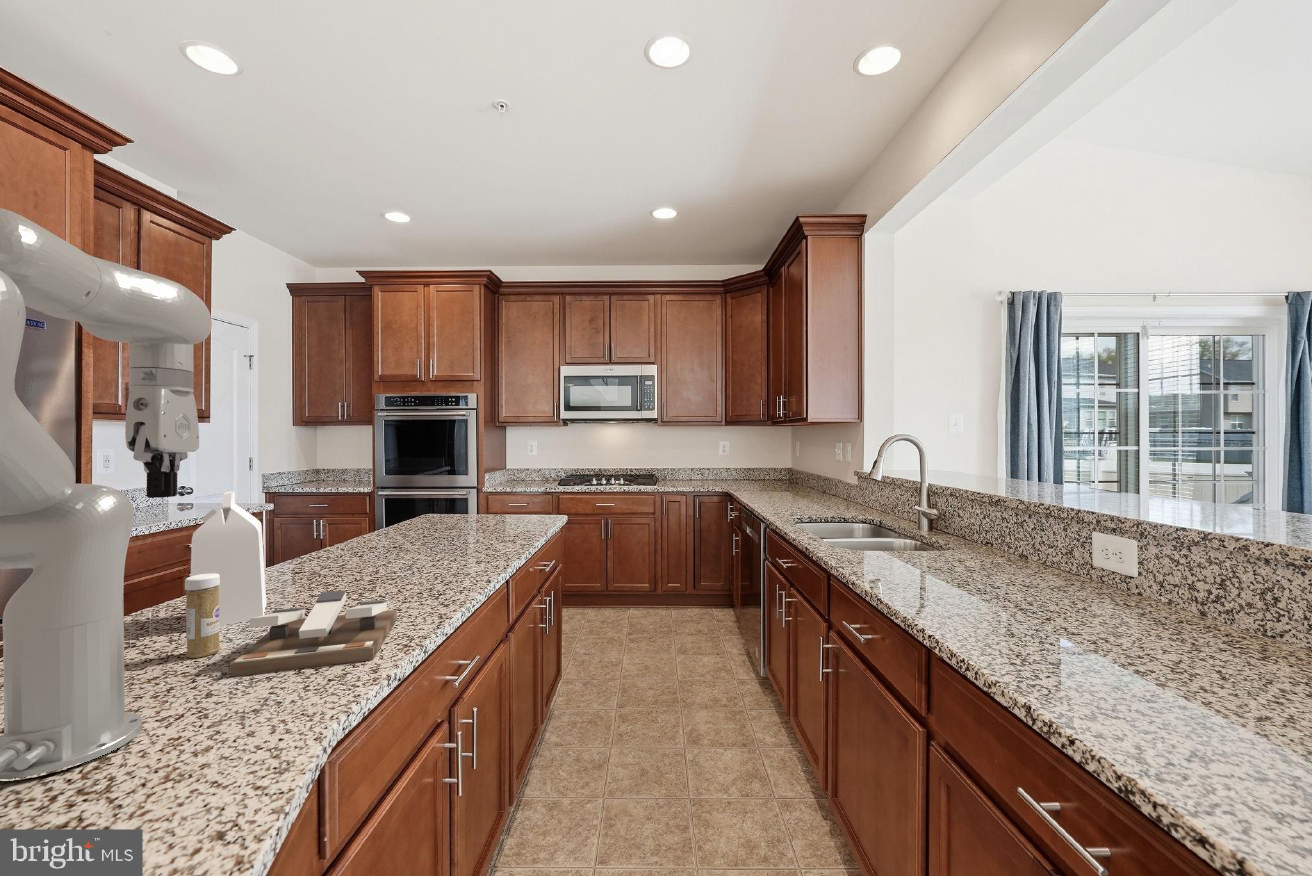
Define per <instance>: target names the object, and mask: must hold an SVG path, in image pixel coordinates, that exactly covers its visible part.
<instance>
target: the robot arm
mask: <svg viewBox="0 0 1312 876" xmlns="http://www.w3.org/2000/svg"><path fill="white" fill-rule="evenodd" d="M26 307H27V308H30V309H32V310H35V311H37V312H40V313H43V314H45V315H48V316H50V317H54V318H58V319H63V320H67V321H73V322H78V323H79V325H80V326H81V327H82V328H83V329H84V330H85V331H86V332H88V333H89V334H91V335H92V336H94V337H96V338H98V339H100V340H104V341H108V342H115V343H116V342H118V343H126V344H128V364H129V365H128V390H129V394H128V400H127V406H126V413H125V414H126V415H125V433H124V434H125V435H124V436H125V437H124V438H125V445H126V448H127V450H128V451H130V452H132V453H133V457H132V458H133V460H135V461H138V462H140V463H142V465H143V470H144V472H145V473H146V497H147V498H148V499H153V498H155V499H156V498H159V499H160V498H171V497H172V498H173V497H177V496H178V472H179V471H180V469H181V468H180V467H181V462H182V461H185V460H186V459H188V456H189V454H188V453H193V452H194V453H195V452H196V451H198V450H199V448H200V431H199V417H198V408H197V404H196V397H195V396H194V391H195V390H194V388H195V387H194V386H195V385H194V345H196V344H197V345H198V344H200V343H203V342H204V341H205V340H206V339H208V337H209V336H210V334H211V332H212V327H213V325H212V324H213V323H212V321H213V320H212V315H211V313H210V310H209V308H208V307H207V305H206V304H205V302H204V301H203V300H202V298H200V297H199V296H198V295H197V294H196V293H194V292H193V291H192V290H191V289H189V288H187V287H185V286H184V285H183V284H181V283H179V282H176V281H173V280H171V279H169V278H165V277H162V276H159V275H156V274H152V273H150V272H146V271H142V270H139V269H135V268H133V267H129V266H126V265H123V264H121V263H116V262H112V261H110V260H106V259H102V258H99V257H96V256H92V255H90V254H88V253H86V252H85V251H83V250H81V249H80V248H78V247H77V246H75V245H73V244H71V242H70V243H69V242H68V241H66V240H64V239H62V238H61V237H60V236H57V235H56V234H54V233H53V232H50V231H49V230H47V229H46V228H44V227H43V226H40V225H39V224H37V223H35V222H34V221H32V220H30V219H29V218H26V217H25V216H23V215H21V214H18V213H16V212H14V211H11V210H8V209H5V208H3V207H2V208H1V207H0V570H9V569H11V570H12V569H33V570H32V573H31V574H30V576H28V578H27V579H26V581H25V582H23V583H22V584H21V586H19V588H17V590H16V591H15V592H14V593H13V594H12V596H11V597H10V598H9V600H8V602H7V603H6V605H5V607H4V610H3V613H2V643H3V644H2V647H3V648H2V650H3V652H2V657H3V659H2V663H3V664H2V665H3V727H4V728H3V731H4V732H3V733H4V734H3V735H1V736H0V779H13V778H14V779H16V778H24V777H26V776H33V775H35V774H41V773H44V772H50V771H54V770H56V769H61V768H64V767H68V766H70V765H75V764H77V763H82V762H87V761H88V760H92V759H94V758H97V757H99V756H101V757H103V756H102V755H104V756H105V754H106V755H108V754H110V753H112V752H114V751H116V750H117V748H118V749H119V748H121V747H123V746H124V745H126V744H127V743H129V742H131V741H132V740H133V739H134V738H135V737H137V735H138V734H140V732H141V731H142V729H143V718H142V716H141V715H140V714H137V713H135V712H130V711H126V710H125V709H126V708H125V707H126V703H125V701H126V699H125V698H126V697H125V696H126V695H125V692H126V691H125V688H126V687H125V619H124V617H125V614H124V611H125V609H124V587H125V586H124V585H125V584H124V583H125V582H124V581H125V566H126V565H125V564H126V560H127V559H126V558H127V554H128V553H127V552H128V548H129V544H130V539H131V536H132V535H131V534H132V531H133V527H134V526H133V525H134V519H135V513H134V507H133V506H134V505H133V503H132V502H131V500H130V498H129V497H128V496H127V495H126V494H125V493H123V492H121V491H120V490H118V489H115V488H113V487H111V486H107V485H101V484H95V483H94V484H92V483H76V472H75V471H76V470H75V468H74V465H73V462H72V461H71V460H70V458H69V456H68V455H67V454H66V452H65V451H64V450H63V449H62V448H61V447H60V445H59V444H58V443H57V442H56V441H55V440H54V438H53V437H52V436H51V435H50V433H48V432H47V431H46V430H45V428H44V427H43V426H42V425H41V424H40V422H38V420H37V419H36V418H35V417H34V416H33V414H32V413H31V412H30V411H29V410H28V409H27V407H25V405H24V404H23V402H22V401H21V399H20V398H19V397H18V395H17V393H16V390H15V385H16V384H15V380H16V373H17V367H18V363H19V362H18V361H19V358H20V354H21V347H22V342H23V338H24V333H25V327H26V322H27V309H26ZM113 750H114V751H113ZM111 751H112V752H111ZM107 753H108V754H107ZM99 758H100V757H99ZM97 759H98V758H97ZM92 761H93V760H92ZM87 763H88V762H87Z"/></svg>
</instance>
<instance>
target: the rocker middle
mask: <svg viewBox="0 0 1312 876" xmlns="http://www.w3.org/2000/svg"><path fill="white" fill-rule="evenodd" d="M346 601H347V591H346V590H334V591H322V592H321V593H320V594H319V595H318V597H317V599H316V601H315V604H314V606H313V608H312V609H311V611H310V612H309V614H308V616H307V617H306V618H307V619H306V618H305V619H306V620H305V622H304V623H303V625H302V626H301V628H300V630H299V637H300V639H302V638H312V637H322V636H327V635H328V633H329V631H330V629H331V627H332V625H333V623H334V621H335V620H336V618H337V616H338V615H340V613H341V610H342V609H343V606H344V604H345V602H346Z"/></svg>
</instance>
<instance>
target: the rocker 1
mask: <svg viewBox="0 0 1312 876" xmlns="http://www.w3.org/2000/svg"><path fill="white" fill-rule="evenodd" d="M305 610H306V608H305V607H304V606H302V607H301V606H300V607H289V608H281V609H280V608H278V609H275V610H272V612H271V613H267V614H264V615H262V616H258V617H254V618H250V622H249V629H251V628H262V627H272V626H277V625H280V624H284V623H287V622H291V621H294V620H298V619H305Z"/></svg>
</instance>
